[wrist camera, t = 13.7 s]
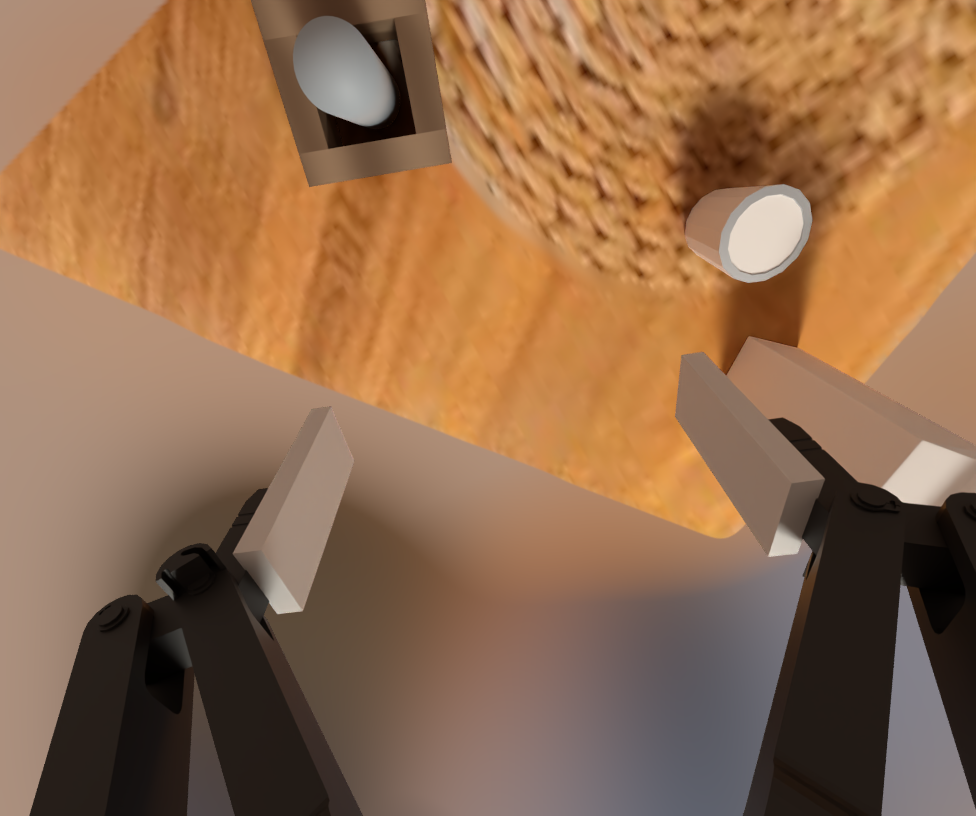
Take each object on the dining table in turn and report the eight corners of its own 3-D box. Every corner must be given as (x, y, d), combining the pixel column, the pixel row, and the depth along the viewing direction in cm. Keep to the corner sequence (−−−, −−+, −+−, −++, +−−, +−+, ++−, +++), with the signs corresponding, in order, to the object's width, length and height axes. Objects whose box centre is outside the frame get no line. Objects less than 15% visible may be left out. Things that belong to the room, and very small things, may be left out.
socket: (424, -5, 30) (419, -33, 25) (451, 162, 35) (451, 162, 30) (279, 20, 30) (249, -4, 26) (327, 183, 35) (309, 187, 31)
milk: (797, 347, 45) (1055, 485, 26) (766, 398, 48) (978, 557, 29) (746, 334, 44) (977, 469, 25) (717, 387, 47) (904, 546, 28)
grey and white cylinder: (673, 196, 37) (717, 203, 31) (755, 167, 37) (816, 169, 30) (681, 274, 40) (721, 295, 34) (756, 249, 40) (811, 266, 34)
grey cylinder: (392, 58, 31) (362, 8, 21) (406, 124, 33) (384, 109, 23) (337, 68, 31) (280, 23, 21) (354, 133, 33) (309, 122, 23)
